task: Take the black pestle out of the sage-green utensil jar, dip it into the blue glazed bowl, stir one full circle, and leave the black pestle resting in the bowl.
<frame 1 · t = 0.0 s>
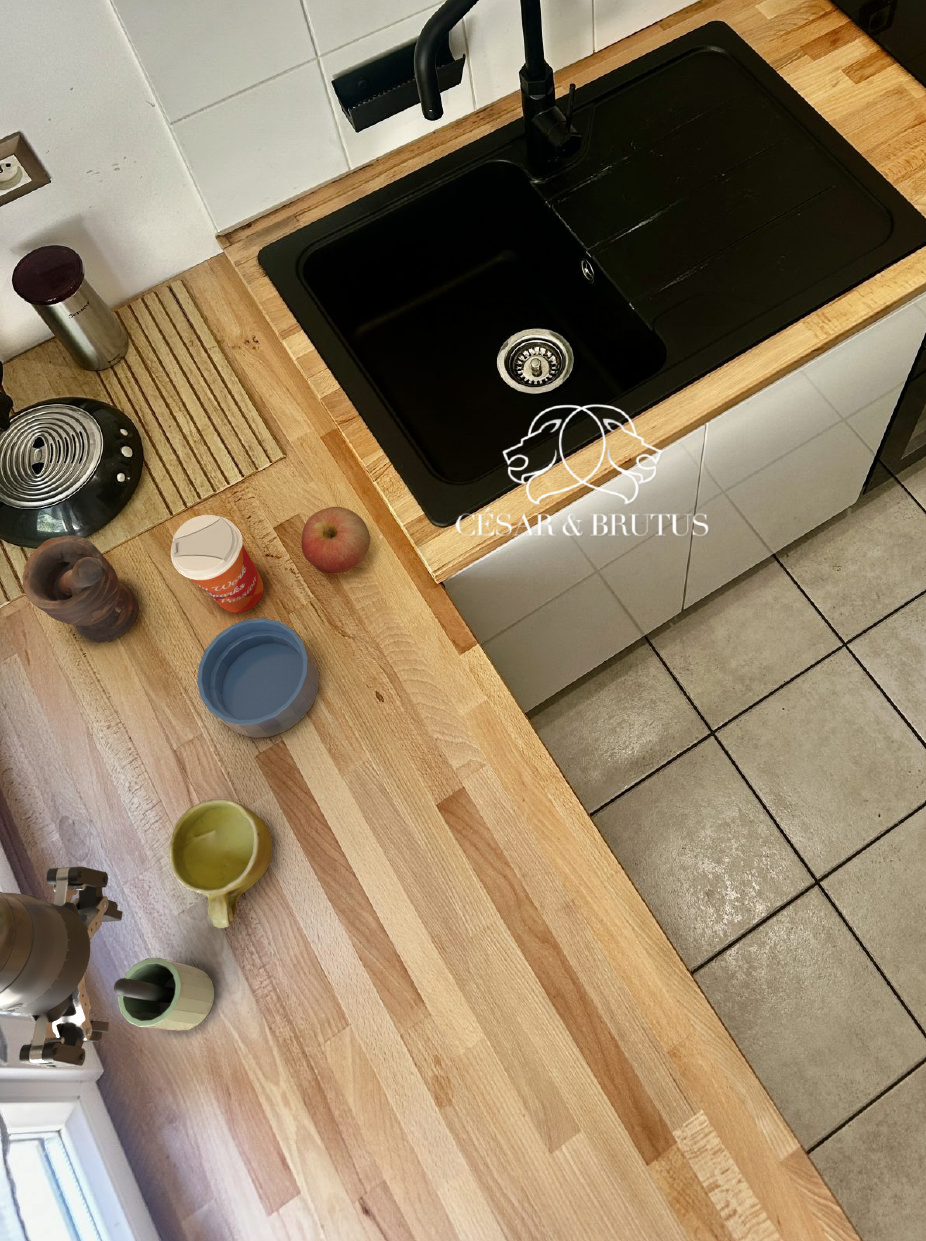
hand: (104, 971, 96), 23 cm above the worktop, tool pointing down, fingers open, 8 cm apart
black pestle: (183, 998, 115), point 1 cm above the worktop, touching utensil jar
mortar and pestle: (122, 615, 136), on the worktop
mug: (235, 871, 122), on the worktop
bowl: (267, 686, 131), on the worktop
paper cup: (241, 591, 137), on the worktop
utensil jar: (185, 998, 116), on the worktop
apple: (343, 554, 139), on the worktop
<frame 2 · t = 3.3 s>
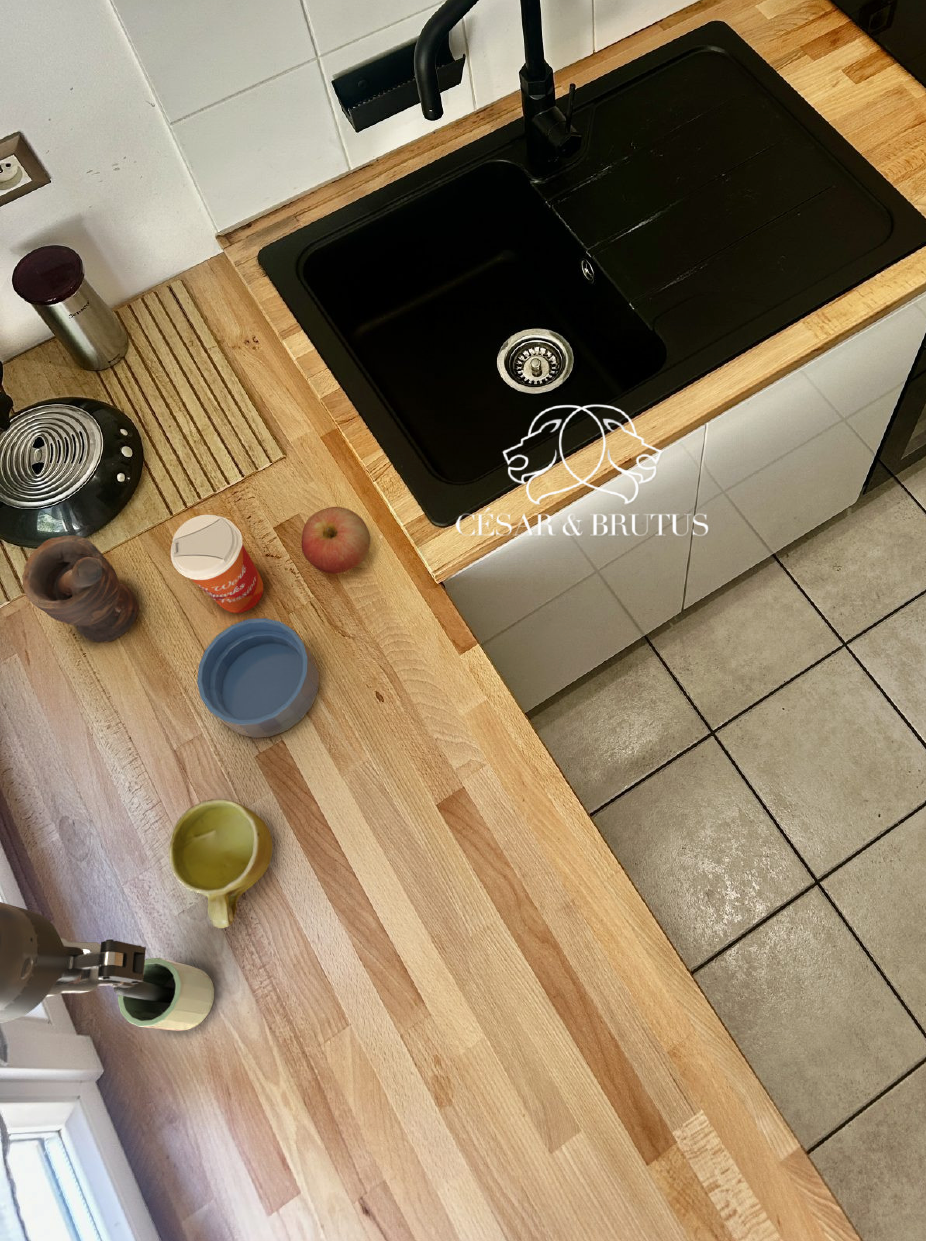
hand: (79, 978, 93), 26 cm above the worktop, tool pointing down, fingers open, 8 cm apart
nothing on the worktop moved.
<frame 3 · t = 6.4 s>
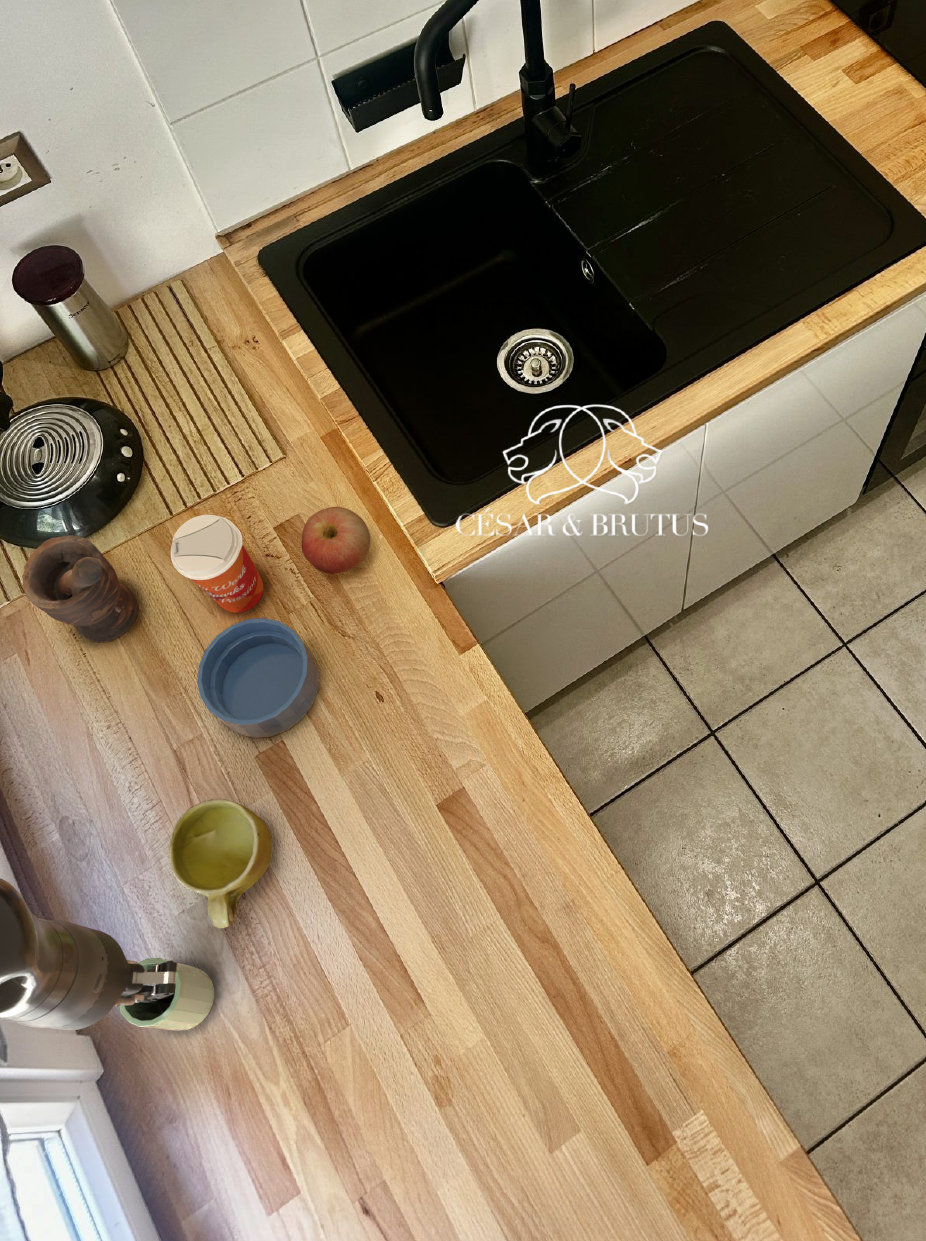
hand: (140, 990, 105), 12 cm above the worktop, tool pointing down, fingers closed on black pestle
black pestle: (183, 998, 115), point 1 cm above the worktop, touching gripper, utensil jar
everything else where it was.
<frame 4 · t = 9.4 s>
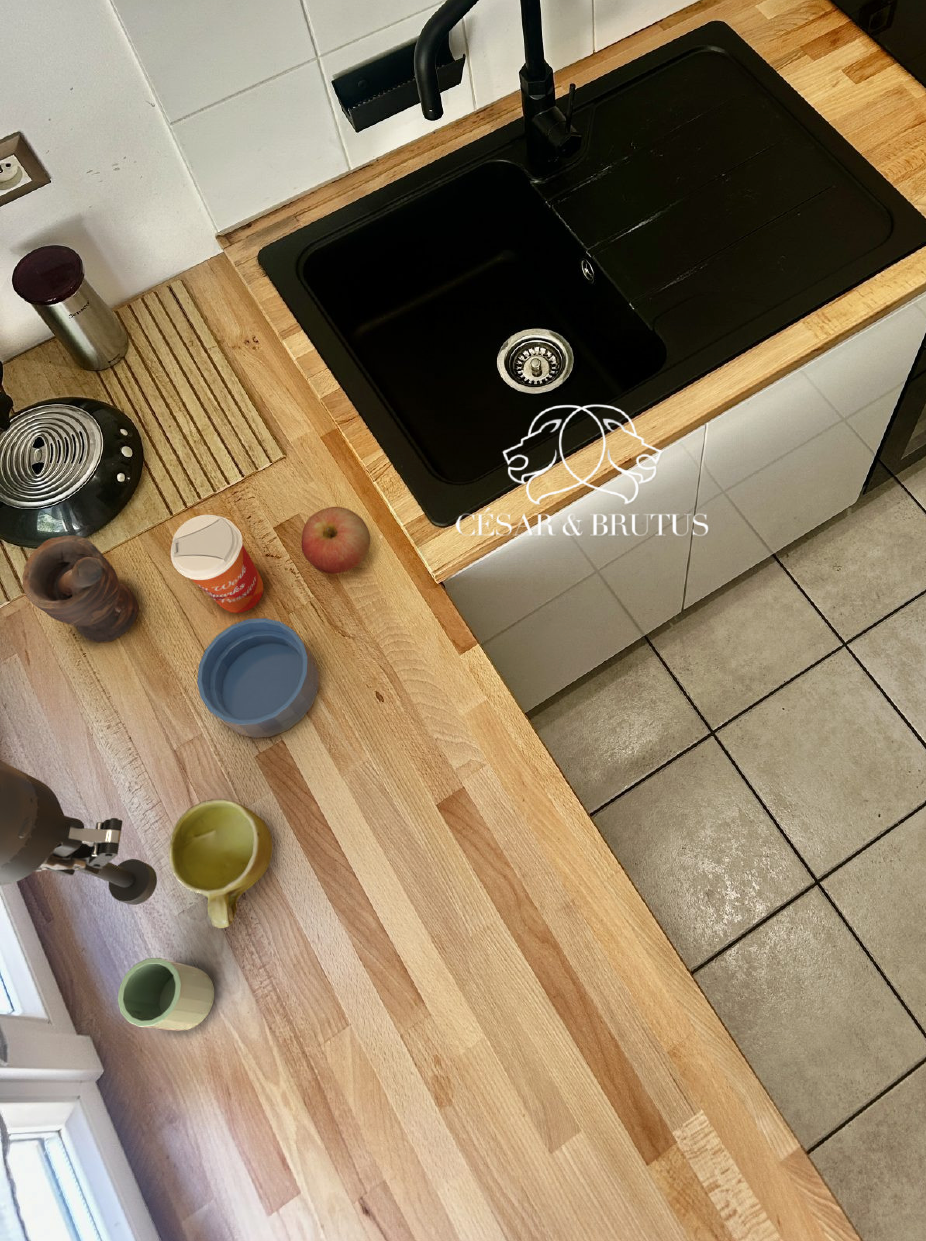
hand: (83, 861, 93), 31 cm above the worktop, tool pointing down, fingers closed on black pestle
black pestle: (137, 883, 103), point 19 cm above the worktop, touching gripper
everything else where it was.
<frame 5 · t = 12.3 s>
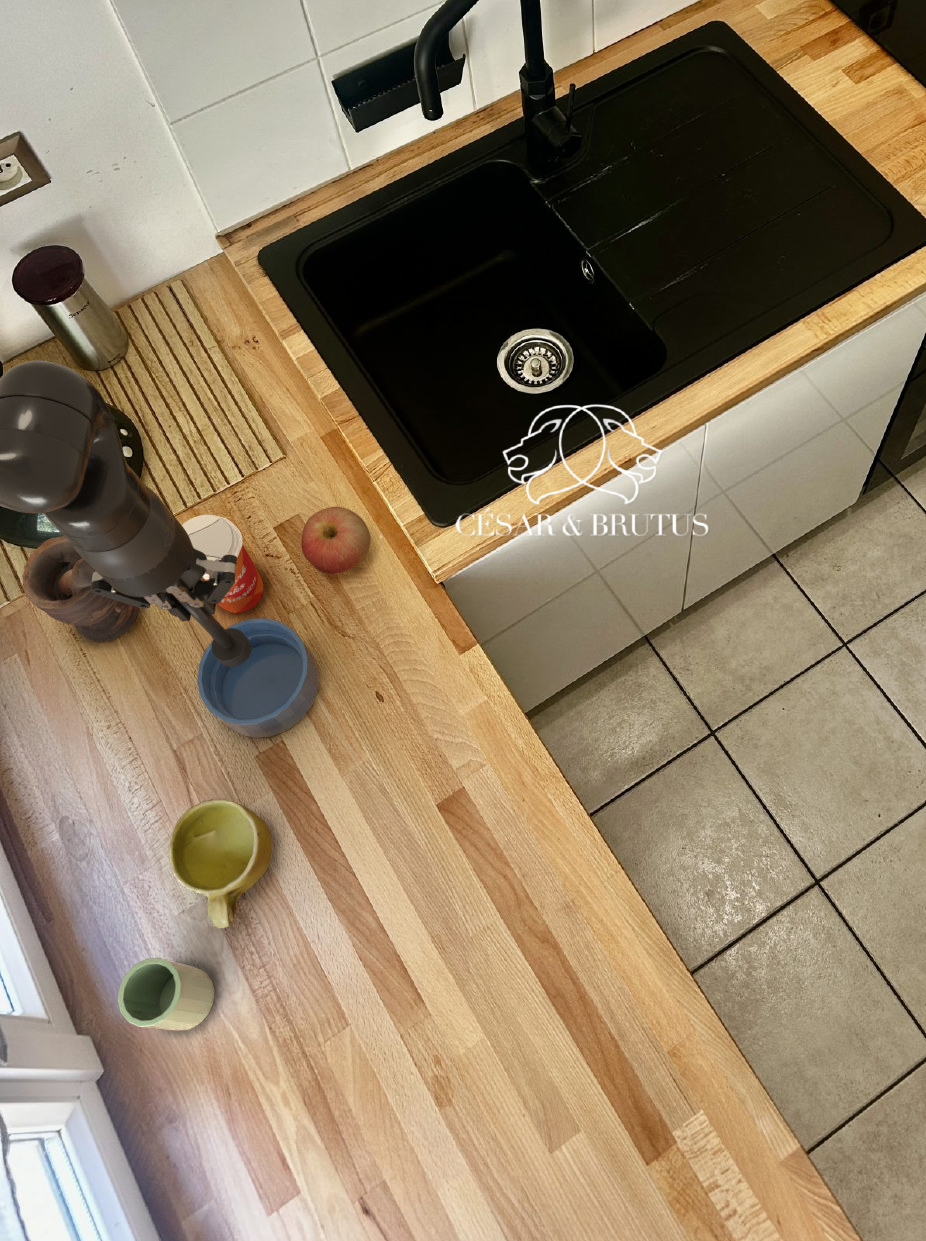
hand: (197, 610, 110), 24 cm above the worktop, tool pointing down, fingers closed on black pestle
black pestle: (234, 650, 120), point 12 cm above the worktop, touching gripper
everything else where it was.
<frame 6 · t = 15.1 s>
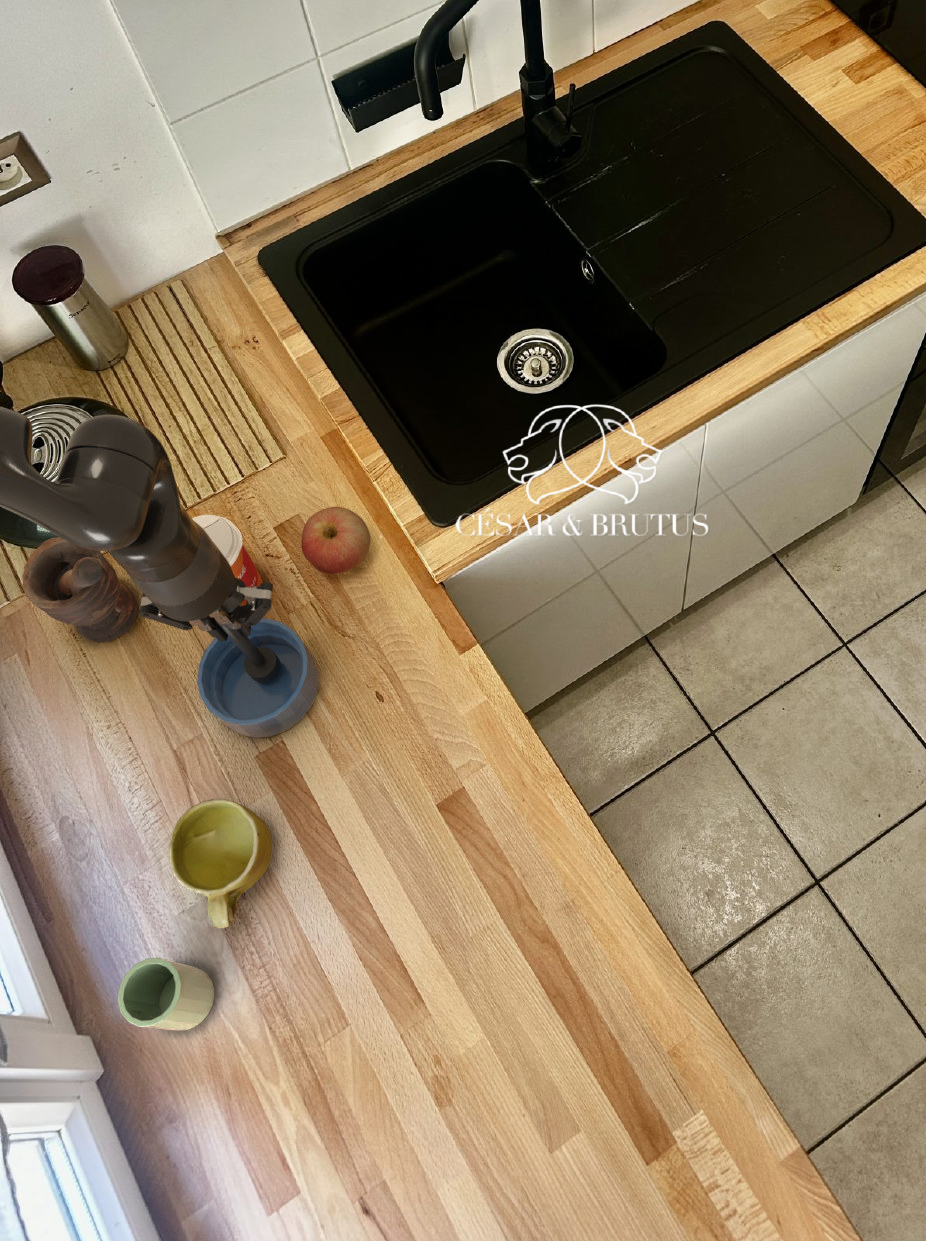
hand: (233, 632, 120), 14 cm above the worktop, tool pointing down, fingers closed on black pestle
black pestle: (264, 667, 130), point 2 cm above the worktop, touching gripper
everything else where it was.
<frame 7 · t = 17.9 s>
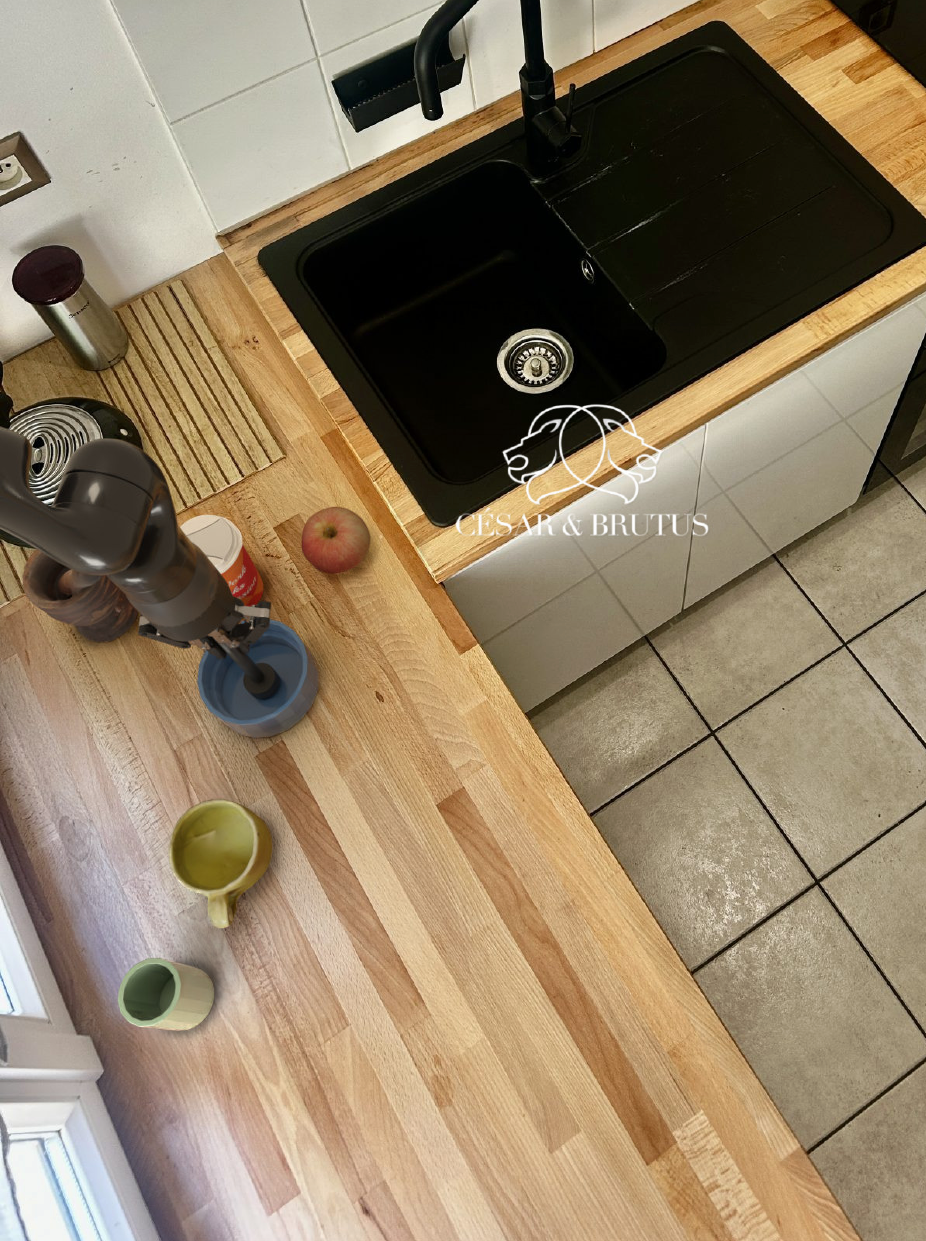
hand: (232, 649, 120), 13 cm above the worktop, tool pointing down, fingers closed on black pestle
black pestle: (264, 683, 130), point 1 cm above the worktop, touching gripper
everything else where it was.
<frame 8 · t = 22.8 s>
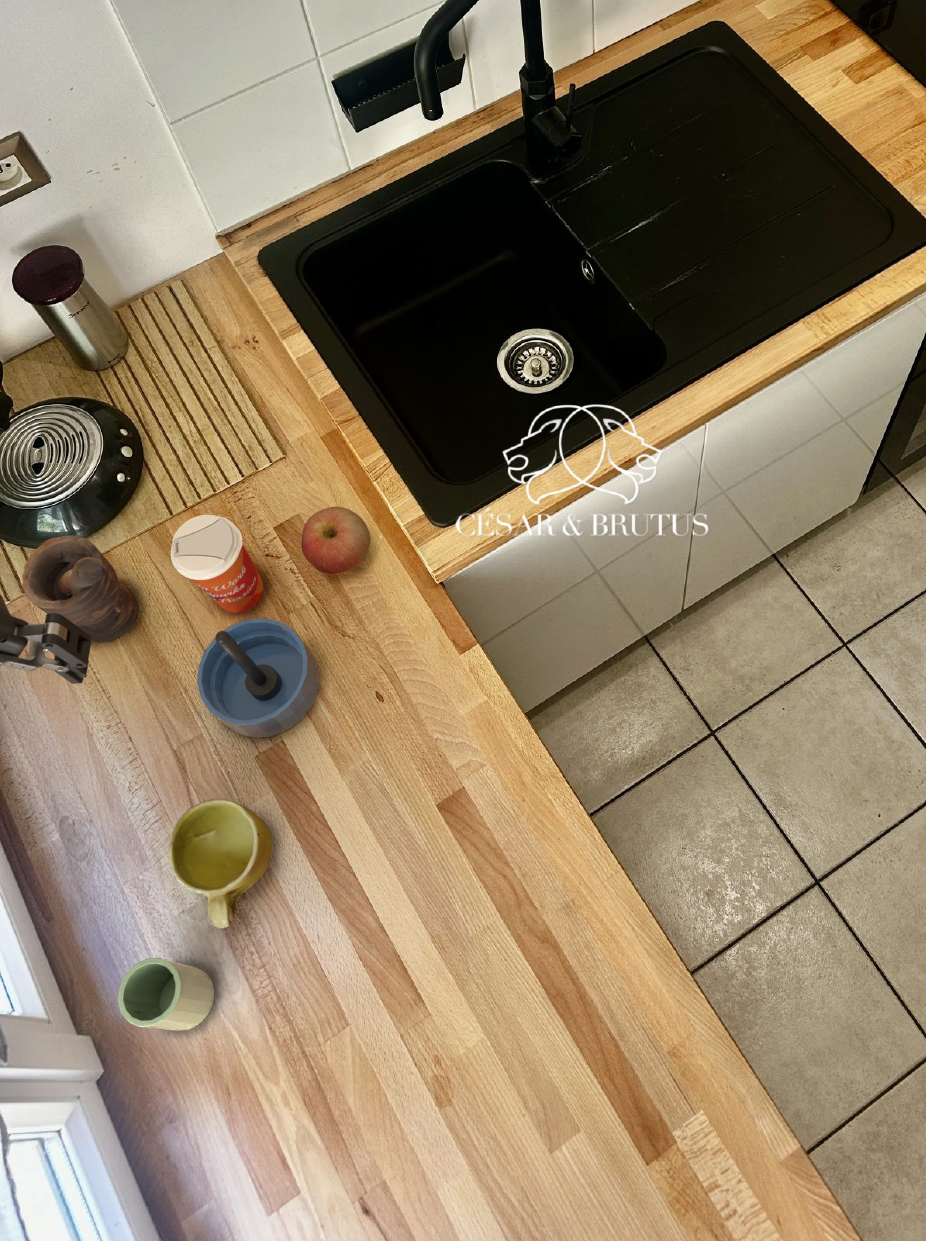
hand: (29, 675, 97), 34 cm above the worktop, tool pointing down, fingers open, 8 cm apart
black pestle: (265, 685, 130), point 1 cm above the worktop, touching bowl
everything else where it was.
at the end: black pestle inside the target area in the bowl (0.0 cm from its centre), point 0.6 cm above the bowl's base; black pestle moved 32.5 cm from its start; the gripper is holding nothing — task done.
